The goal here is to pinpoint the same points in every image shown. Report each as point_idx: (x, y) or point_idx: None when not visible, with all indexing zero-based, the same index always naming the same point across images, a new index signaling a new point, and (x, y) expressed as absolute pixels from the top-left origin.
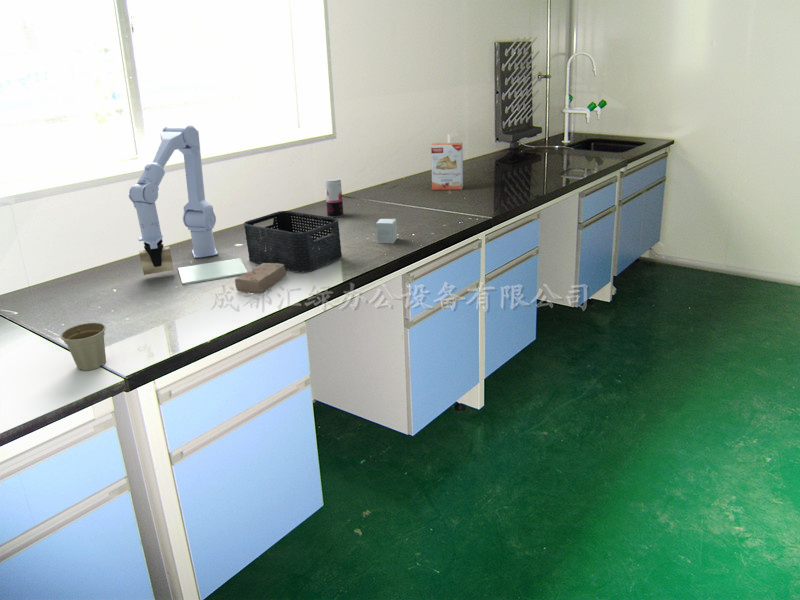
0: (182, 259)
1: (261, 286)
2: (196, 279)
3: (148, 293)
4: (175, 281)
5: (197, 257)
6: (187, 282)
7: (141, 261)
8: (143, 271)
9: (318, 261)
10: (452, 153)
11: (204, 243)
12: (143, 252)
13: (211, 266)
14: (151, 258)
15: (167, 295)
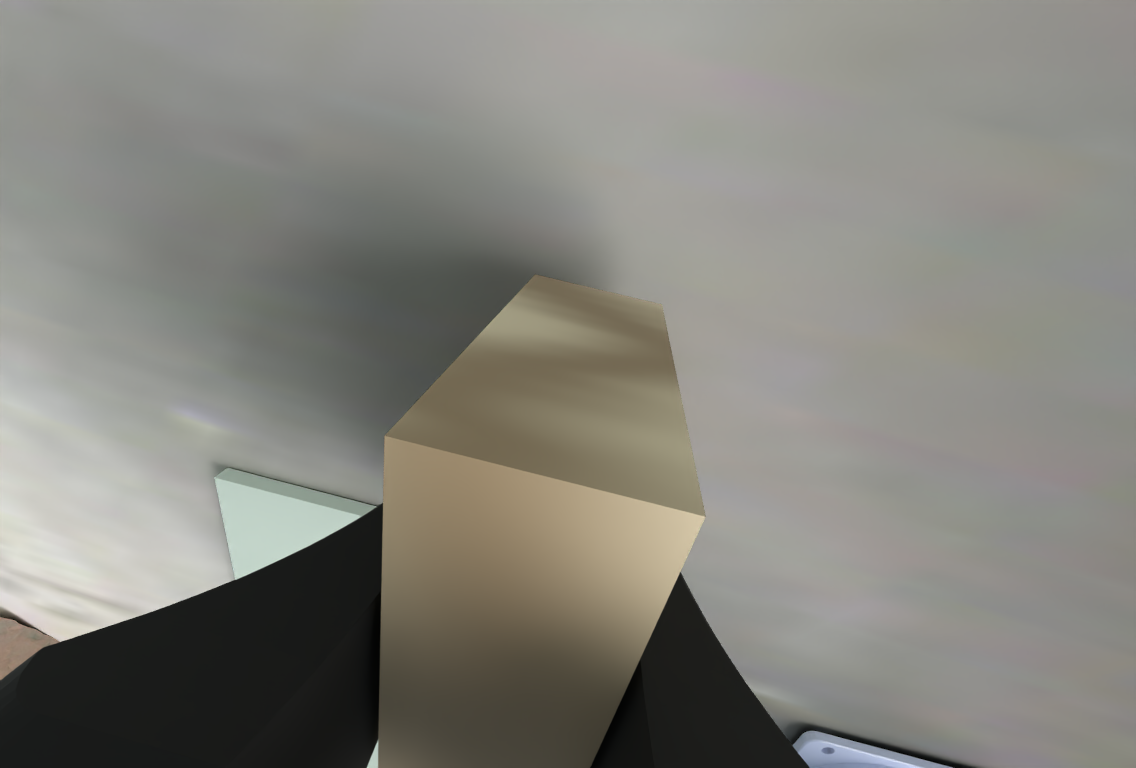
0: (894, 681)
1: None
2: (258, 566)
3: (92, 168)
4: (340, 460)
5: (797, 744)
6: (223, 507)
7: (473, 346)
8: (522, 288)
9: None
10: None
11: None
12: (426, 544)
13: None
14: (367, 519)
15: (5, 302)
